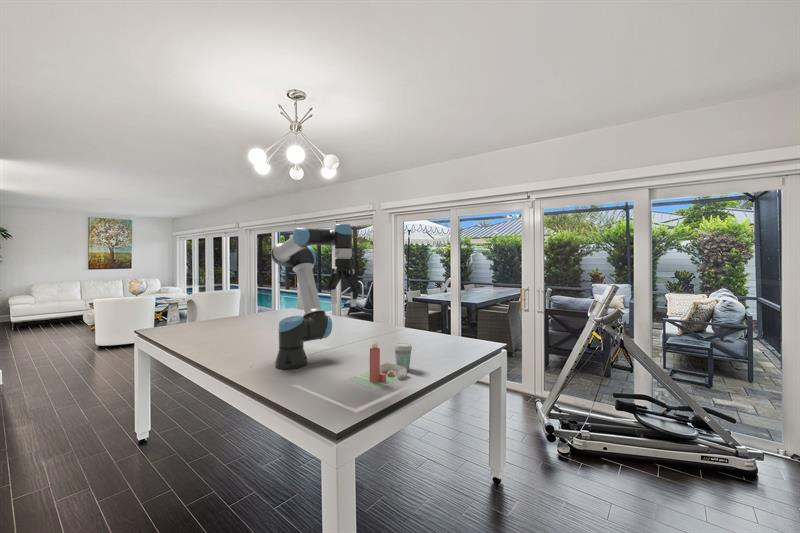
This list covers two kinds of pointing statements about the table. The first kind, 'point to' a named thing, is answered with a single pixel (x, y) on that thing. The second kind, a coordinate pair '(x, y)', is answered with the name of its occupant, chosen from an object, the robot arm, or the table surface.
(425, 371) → the table surface
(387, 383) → the pitch
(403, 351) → the coffee cup
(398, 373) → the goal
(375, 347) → the red inhaler
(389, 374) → the ball
